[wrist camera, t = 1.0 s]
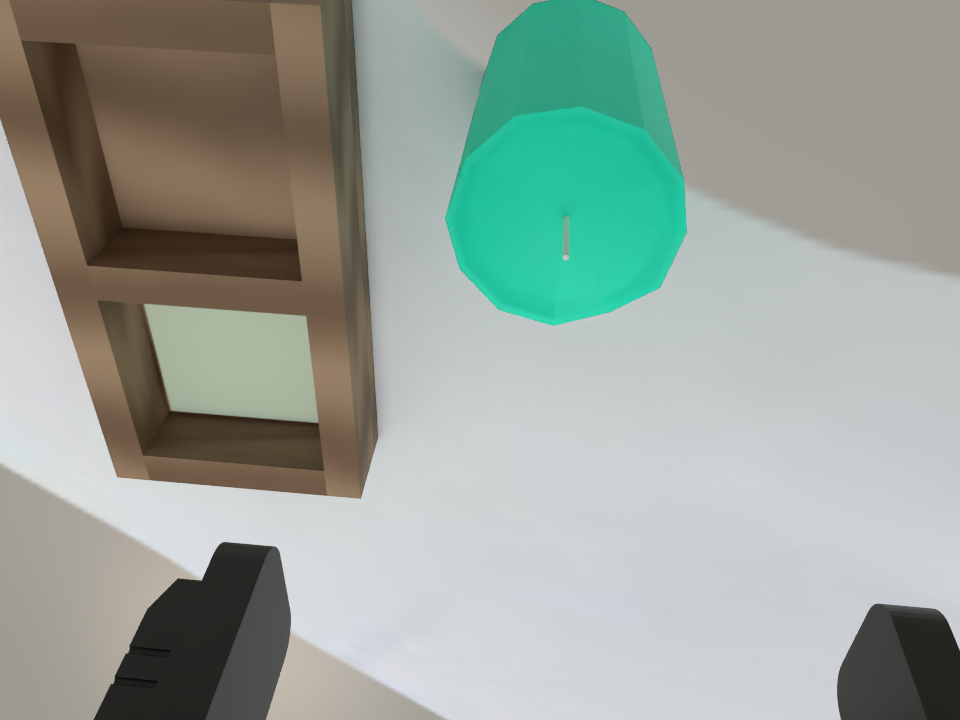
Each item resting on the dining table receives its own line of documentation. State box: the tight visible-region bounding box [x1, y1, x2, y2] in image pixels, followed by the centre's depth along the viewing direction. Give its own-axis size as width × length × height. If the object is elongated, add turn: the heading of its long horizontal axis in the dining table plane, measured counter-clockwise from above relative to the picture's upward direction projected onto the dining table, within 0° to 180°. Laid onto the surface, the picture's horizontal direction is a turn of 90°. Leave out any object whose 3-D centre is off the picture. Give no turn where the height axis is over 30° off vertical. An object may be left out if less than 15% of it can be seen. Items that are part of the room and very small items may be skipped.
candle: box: [445, 0, 687, 326], centre depth 24 cm, size 6×6×12 cm
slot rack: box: [0, 0, 378, 499], centre depth 32 cm, size 20×11×4 cm, turn 178°
